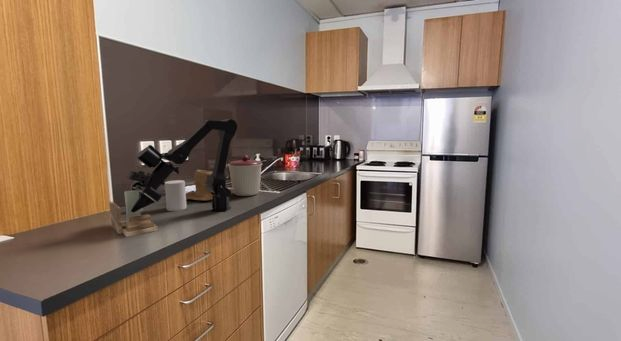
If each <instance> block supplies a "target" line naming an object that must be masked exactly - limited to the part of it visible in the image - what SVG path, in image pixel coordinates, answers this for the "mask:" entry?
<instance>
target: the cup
mask: <svg viewBox="0 0 621 341" xmlns="http://www.w3.org/2000/svg"><path fill="white" fill-rule="evenodd" d="M164 183H165V184H164V190H165V203H166V210H167V211H168V212H169V211H170V212H175V211H176V212H177V211H184V210H185V209H187V199H186V193H187V192H186V182H185V180H182V179H181V180H178V179H177V180H176V179H175V180H168V181H164Z"/></svg>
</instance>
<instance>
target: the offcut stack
mask: <svg viewBox="0 0 621 341" xmlns="http://www.w3.org/2000/svg"><path fill="white" fill-rule="evenodd" d="M129 219H130V221H127V220H125V221H126V225H125V226H126V228H125V229H126V230H127V231H128V232H131V231H136V230H141V229H146V228H151V227H154V224H155V223H154V222H153V221H152V215H150V214H149V213H147V214H141V215H140V216H135V217H129ZM125 226H124V227H125Z"/></svg>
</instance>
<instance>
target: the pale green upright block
mask: <svg viewBox="0 0 621 341" xmlns="http://www.w3.org/2000/svg"><path fill="white" fill-rule="evenodd" d="M123 194H124V203H125V204H124V206H125V205H126V207H125V213H126V214H125V215H126V221H130V219H129V217H135V216H140V215H142V213H141V212H142V211H140V210H138V211H136V212H134V213H133V212H131V209H132V208H133V206H134V205H135V203H136V202H137V200H138V199H139V191H138V190H133V191H131V190H125V191H124V193H123Z"/></svg>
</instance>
